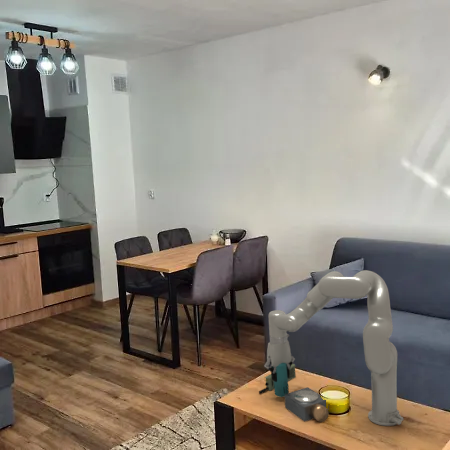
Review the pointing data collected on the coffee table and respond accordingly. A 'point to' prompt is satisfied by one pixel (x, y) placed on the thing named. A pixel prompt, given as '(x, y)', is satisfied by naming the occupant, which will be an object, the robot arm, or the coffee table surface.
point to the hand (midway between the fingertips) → (280, 378)
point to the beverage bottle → (281, 380)
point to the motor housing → (306, 405)
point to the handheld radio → (270, 382)
